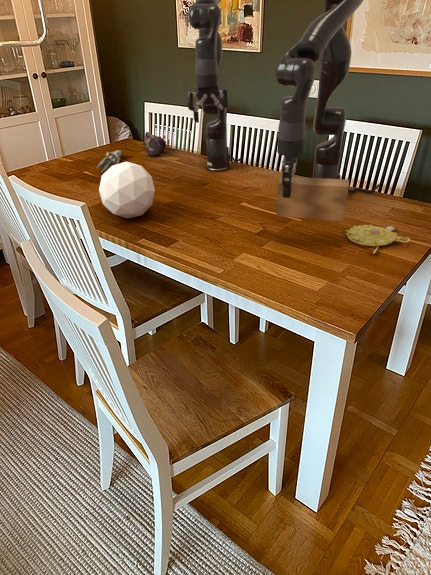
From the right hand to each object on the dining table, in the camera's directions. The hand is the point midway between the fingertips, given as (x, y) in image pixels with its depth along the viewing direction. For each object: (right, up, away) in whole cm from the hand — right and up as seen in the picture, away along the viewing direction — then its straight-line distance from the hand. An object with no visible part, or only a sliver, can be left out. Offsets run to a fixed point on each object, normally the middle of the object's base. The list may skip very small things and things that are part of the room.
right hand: (287, 193), depth 134 cm
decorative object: (+29, -13, +7) cm, 33 cm away
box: (+7, -6, +2) cm, 10 cm away
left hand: (-24, +32, +28) cm, 49 cm away
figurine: (-72, +31, +81) cm, 113 cm away
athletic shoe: (-52, +42, +98) cm, 119 cm away
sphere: (-53, -2, +29) cm, 60 cm away
